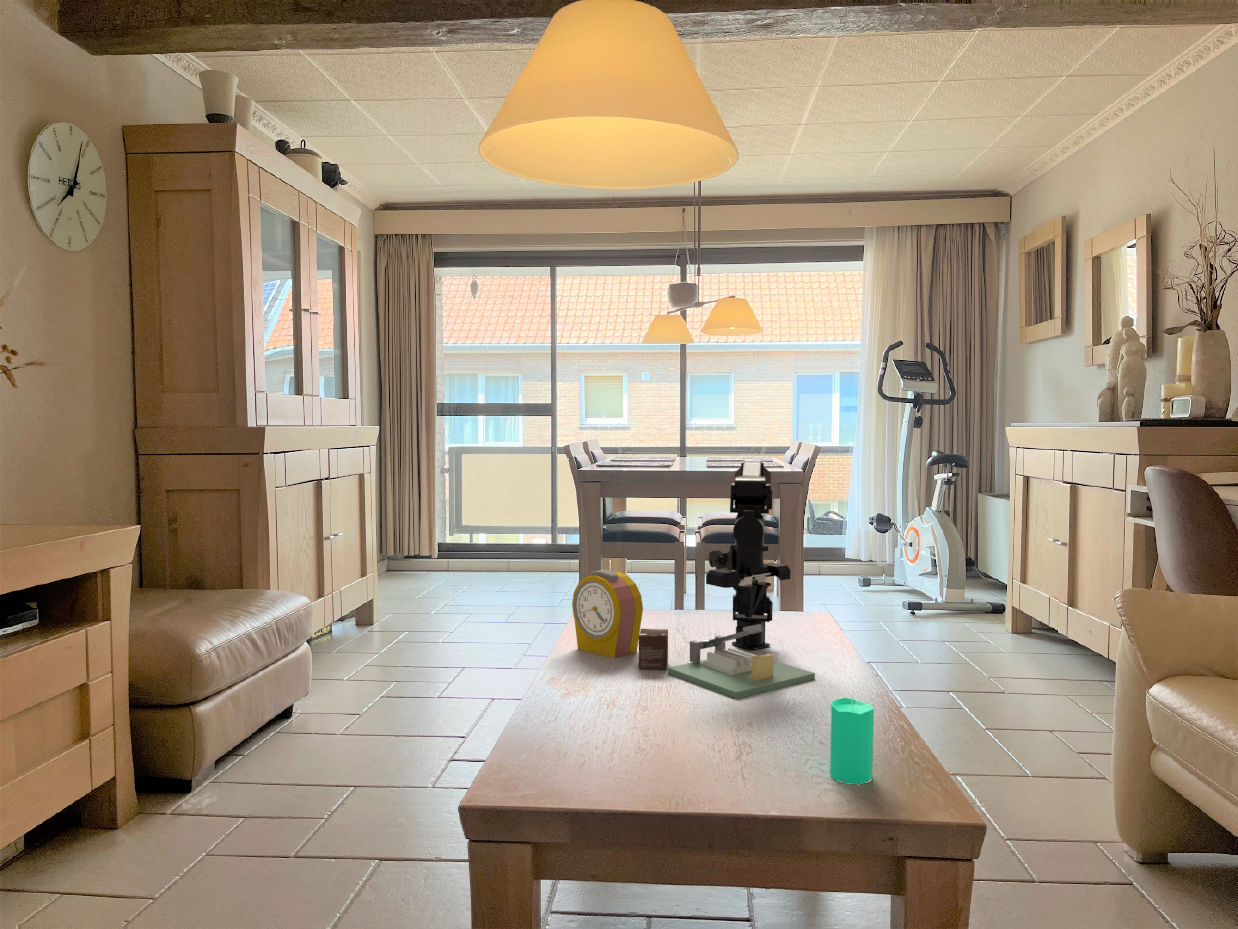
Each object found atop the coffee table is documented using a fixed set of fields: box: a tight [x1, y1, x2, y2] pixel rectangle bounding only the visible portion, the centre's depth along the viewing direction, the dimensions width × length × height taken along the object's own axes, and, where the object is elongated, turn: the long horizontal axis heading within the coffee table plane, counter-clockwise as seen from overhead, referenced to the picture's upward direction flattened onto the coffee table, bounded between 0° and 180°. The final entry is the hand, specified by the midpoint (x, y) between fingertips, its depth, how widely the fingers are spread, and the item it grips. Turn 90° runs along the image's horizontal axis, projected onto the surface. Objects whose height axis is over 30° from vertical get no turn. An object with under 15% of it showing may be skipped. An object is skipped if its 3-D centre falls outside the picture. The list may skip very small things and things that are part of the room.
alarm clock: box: [571, 569, 644, 659], centre depth 190 cm, size 15×8×18 cm, turn 47°
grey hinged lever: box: [699, 624, 763, 650], centre depth 173 cm, size 5×16×2 cm, turn 36°
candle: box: [829, 694, 875, 784], centre depth 121 cm, size 6×6×12 cm
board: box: [667, 635, 816, 700], centre depth 171 cm, size 22×21×6 cm
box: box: [638, 628, 669, 671], centre depth 178 cm, size 6×6×7 cm
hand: (748, 617), depth 169 cm, fingers closed
